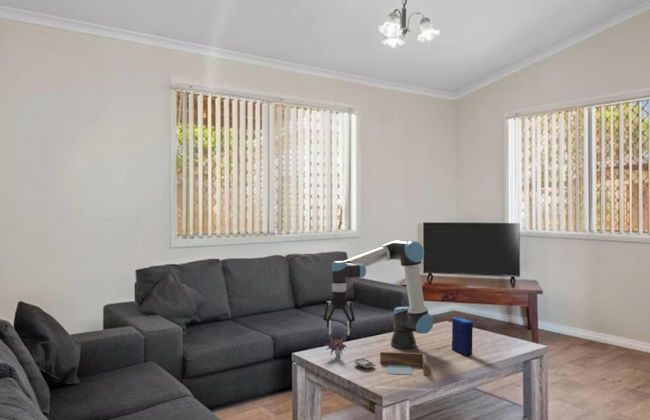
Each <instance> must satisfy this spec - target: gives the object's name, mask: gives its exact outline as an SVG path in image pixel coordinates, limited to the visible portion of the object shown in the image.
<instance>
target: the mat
mask: <svg viewBox="0 0 650 420" xmlns="http://www.w3.org/2000/svg"><path fill="white" fill-rule="evenodd" d="M387 375H402V376H412V375H413V374H412V365H400V364H387Z"/></svg>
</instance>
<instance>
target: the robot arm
mask: <svg viewBox="0 0 650 420" xmlns="http://www.w3.org/2000/svg"><path fill="white" fill-rule="evenodd" d="M424 256H425V249H424V246H423V245H422V244H421V243H420V242H418V241H415V240H404V239H403V240H402V239H396V240H393V241H390V242H387V243H385V244H382V245H380V246H379V247H378V248H376V249H373V250H370V251H367V252H365V253H362V254H359V255H357V256H353V257H352V258H348V259H345V260H334V261H333V262H332V265H331V301H330V300H327V301H325V310H324V314H323V319H322V320H323V321H325V322H326V327H327V329H328V335H330V336H331V334H332V321H331V318H332V316H333V314H334V312H335V310H342V311H343V312H344V314H345V316H346V317H345V318H347V336H350V329H352V325H353V322H355V321H356V318H355V313H354V309H353V301H348V300H347V280H349V279H361V278H364V277H365V276H366V275H367V268H366V267H369V266H373V265H374V264H377V263H380V262H383V261H385V262H387V261H390V260H397V261H398V260H399V261H400V266H401V267H402V268H403V269H404V276H405V283H406V289H407V290H406V291H407V298H408V304H409V306H396V307H394V309H393V315H392V316H393V333H392V336H391V340H390V346H391V347H393V348H397V349H414V348H416V347H417V341H416V337H415V333H417V334H422V335H426V334H428V333H430V331H431V330H432V328H433V326H434V318H433V316H432V315H431V314H429V308H428V307H426V306H425V298H424V293H423V292H424V291H423V285H422V279H421V277H422V276H421V271H420V265H421V264H422V260H423V259H424ZM331 305H332V307H333V308H332V309H331V311H330V312H329V308H330V306H331ZM347 305H348V307H349V312H350V314H349V312H348V310H347V307H346V306H347ZM328 312H329V315H328ZM350 315H351V316H350Z"/></svg>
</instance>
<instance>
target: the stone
mask: <svg viewBox="0 0 650 420" xmlns="http://www.w3.org/2000/svg"><path fill="white" fill-rule="evenodd" d="M354 363H355V364H356V365H357V366H360V367H362V368H365V369H369V368H374V367H375V366H376V364H375V363H373V362H372V361H370V360H369V359H365V358H363V357H362V358H360V359H359V358H356V359H355V360H354Z"/></svg>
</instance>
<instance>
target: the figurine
mask: <svg viewBox="0 0 650 420" xmlns="http://www.w3.org/2000/svg"><path fill="white" fill-rule="evenodd" d="M324 333H325V335H326V337H327V338H328V339H327V340H328V341H329V342H326V343H325V344H323V346H327V348H326V349H325V351H326V350H330V355H333V352H334V354H335V355H336V356H335V357H334V359H335V360H338V359H339V358H340V356H343V355H344V353H343V351H344V352H346V351H345V350H346V349H347V348H348V346H346V344H344V341H345V339H346V336H348V332H347V333H345V334H344V335H343V336H342V337H341V338H340V339H338V338H336V339H335V340H334V339H333V336H331V334H330V335H329V333H327V332H326V331H324ZM345 348H346V349H345Z"/></svg>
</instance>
